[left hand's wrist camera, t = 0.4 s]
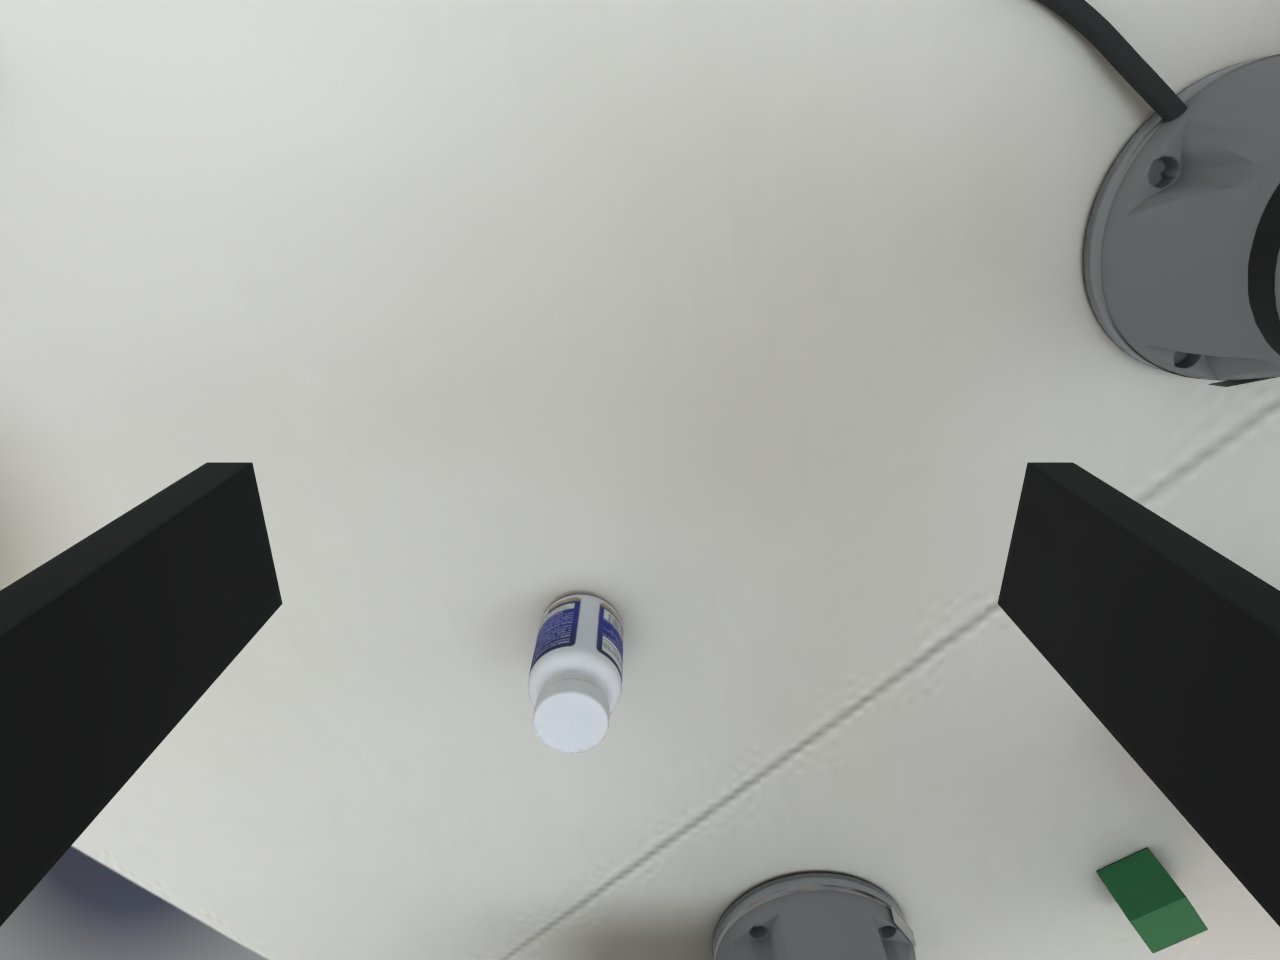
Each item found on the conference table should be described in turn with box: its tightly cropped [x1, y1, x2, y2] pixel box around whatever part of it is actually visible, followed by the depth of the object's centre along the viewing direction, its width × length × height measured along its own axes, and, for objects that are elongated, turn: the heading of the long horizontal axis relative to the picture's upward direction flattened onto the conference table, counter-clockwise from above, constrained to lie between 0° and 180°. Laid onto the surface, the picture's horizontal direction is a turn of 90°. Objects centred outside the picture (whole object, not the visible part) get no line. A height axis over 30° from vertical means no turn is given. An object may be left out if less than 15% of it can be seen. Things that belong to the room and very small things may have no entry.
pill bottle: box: [528, 594, 623, 753], centre depth 42 cm, size 5×5×9 cm
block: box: [1097, 848, 1208, 953], centre depth 52 cm, size 4×4×4 cm
